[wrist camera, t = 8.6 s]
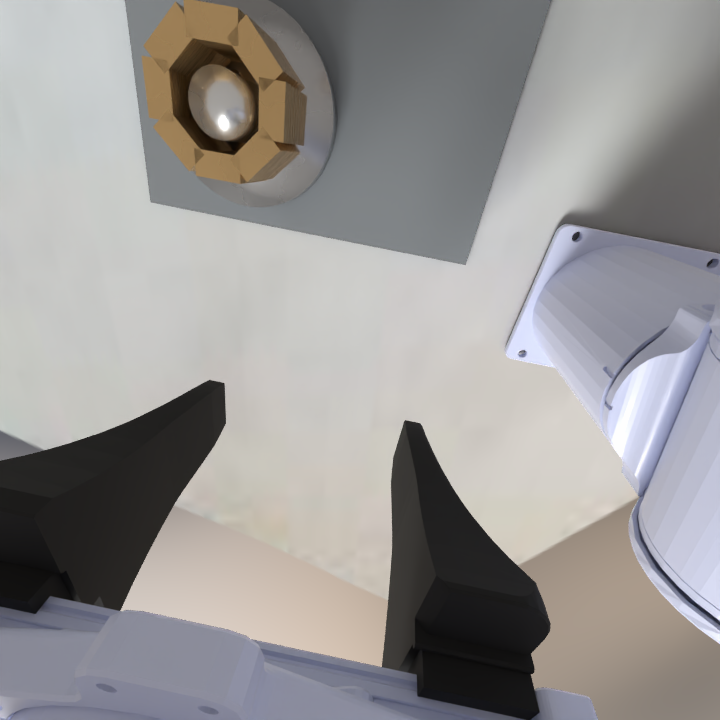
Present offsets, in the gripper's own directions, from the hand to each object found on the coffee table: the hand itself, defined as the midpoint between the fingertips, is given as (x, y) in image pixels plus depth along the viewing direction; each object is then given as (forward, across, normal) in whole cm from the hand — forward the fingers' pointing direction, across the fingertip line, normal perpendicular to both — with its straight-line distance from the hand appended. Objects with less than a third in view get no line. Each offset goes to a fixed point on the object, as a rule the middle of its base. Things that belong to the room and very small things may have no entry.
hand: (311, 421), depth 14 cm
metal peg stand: (+10, +6, -10) cm, 15 cm away
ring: (+8, +6, -10) cm, 14 cm away
